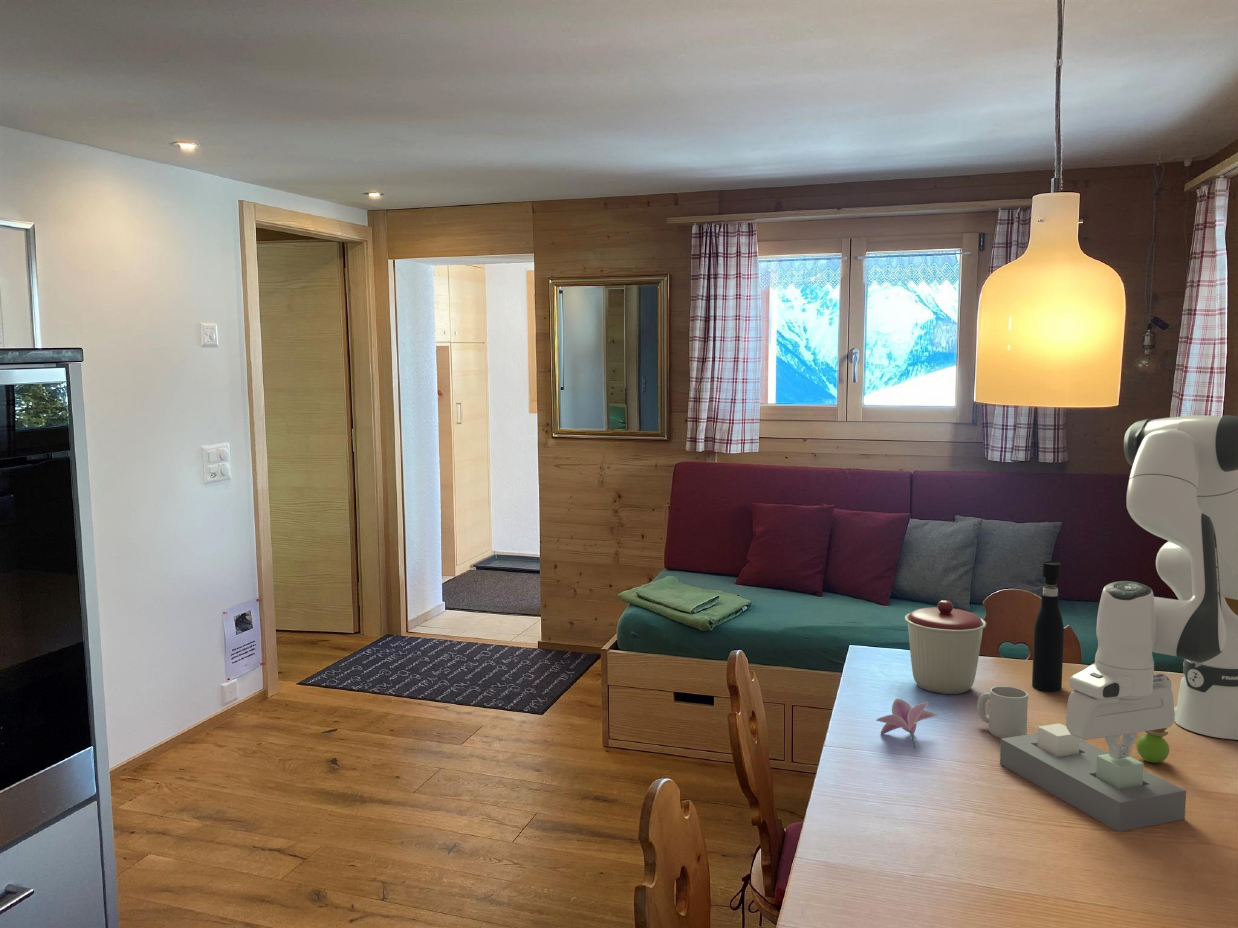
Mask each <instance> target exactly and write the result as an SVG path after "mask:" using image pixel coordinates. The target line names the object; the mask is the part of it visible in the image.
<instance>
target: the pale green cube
mask: <svg viewBox="0 0 1238 928" xmlns="http://www.w3.org/2000/svg"><path fill="white" fill-rule="evenodd" d="M1143 770H1144V762H1142V761H1140V760H1138V759H1135V758H1133V757H1132V756H1130V757H1126V758H1120V759H1114V758H1112V757H1110V756H1109V754H1104V755H1098V756H1097V764H1096V778H1098V779H1100V780H1102V781H1103V782H1105V783H1107V784H1109V785H1111V786H1113V787H1115V788H1117V789H1119V790H1122V789H1127V788H1133V787H1138V786H1143Z"/></svg>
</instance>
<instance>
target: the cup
mask: <svg viewBox="0 0 1238 928" xmlns="http://www.w3.org/2000/svg"><path fill="white" fill-rule="evenodd" d="M988 700H989V714H987V711H986V708H985V707H986V703H987V701H988ZM1028 704H1029V693H1028V692H1027V691H1026V690H1024V689H1021V688H1018V687H1016V686H1015V687H1014V686H1007V685H1001V686H1000V685H998V686H993V687H991V688H990V690H989V691H985V692H982V693H981V694H980V695H979V696H978V699H977V704H976V707H977V713H978V716H979V718H980V719H981V721H983V722H984V723H985V724H988V730H989V733H990V734H991V735H992V736H994V737H996V738H999V739H1002V738H1008V737H1015V736H1021V735H1027V729H1028V728H1027V727H1028V707H1029V706H1028Z"/></svg>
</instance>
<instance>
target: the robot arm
mask: <svg viewBox="0 0 1238 928" xmlns="http://www.w3.org/2000/svg"><path fill="white" fill-rule="evenodd" d="M1123 453H1124V457H1125V459H1126V462H1127V464H1129V465H1130V466H1131V470H1130V474H1129V477H1128V478H1129V479H1128V484H1127V490H1126V509H1127V511H1128V514H1129V516H1130V517H1131V519H1132V520H1133V521H1134V522H1135V523H1136V524H1137V525H1138V526H1140V527H1141V529H1143V530H1145V531H1147V532H1148V533H1150V534H1152V535H1154V536H1156V537H1159V538H1160V539H1163V540H1166V541H1167V542H1165V543H1164V544H1163V545H1162V546H1161V547H1160V548H1159V550H1158V552H1157V554H1156V558H1155V568H1156V572H1157V575H1158V576H1159V577H1160V579H1161V580H1162V581H1163V582H1164V583H1165V584H1166V585H1167V586H1168V587H1169V588H1170V589H1171V590H1172V592H1174V594H1175V596H1176V597H1177V599H1173V598H1166V597H1161V596H1160V597H1159V596H1154V592H1153V589H1152V588H1151V587H1149V586H1148V585H1146V584H1143V583H1140V582H1137V581H1130V580H1121V581H1113V582H1111V583H1108V584H1106V585H1105V586H1104V587H1103V589H1102V592H1101V596H1100V600H1099V605H1098V609H1097V613H1096V614H1097V615H1096V616H1097V618H1096V629H1095V630H1096V632H1095V633H1096V638H1097V642H1098V646H1097V650H1096V653H1095V655H1094V656H1095V657H1094V663H1092V664H1089V666H1087V667H1086V668H1084V669H1082V670H1081V671H1079V672H1076V673H1075V674H1073V675H1072V676H1070V677H1069V687H1070V688H1071V689H1073V690H1072V691H1071V693H1070V694H1069V695H1068V700H1067V705H1066V716H1065V717H1066V719H1065V720H1066V722H1065V726H1066V727H1067V729H1068V731H1069V732H1070V734H1072V735H1073V736H1075V737H1077V738H1080V739H1081V740H1083V741H1088V740H1097V739H1102V738H1104V740H1105V742H1106V744H1107V746H1108V753H1109V756H1110V757H1112V758H1114V759H1120V758H1126V757H1131V752H1132V751H1131V749H1132V748H1133V746H1134V744H1135V742H1136V741H1137V739H1138V733H1143V732H1145V731H1149V730H1156V729H1162V728H1167V729H1168V728H1171V727H1172V725H1173V724H1174V723H1175V724H1177V725H1178V726H1179V727H1181V728H1184V729H1185V730H1187V731H1190V732H1193V733H1197V734H1200V735H1203V736H1207V737H1212V738H1220V739H1227V740H1236V741H1238V615H1237V614H1236V613H1235V612H1234V611H1233V610H1232V609H1231V607H1230V606H1229V605H1228V602H1227V600H1226V598H1227V599H1232V600H1236V601H1238V416H1236V415H1228V414H1227V415H1226V414H1225V415H1223V416H1220V415H1219V416H1218V415H1202V414H1201V415H1199V414H1198V415H1196V414H1195V415H1194V414H1193V415H1192V414H1191V415H1187V414H1186V415H1184V416H1172V417H1163V418H1157V419H1154V418H1146V419H1142V420H1138V421H1135V422H1134V423H1133V424H1131V425H1130V426H1129V427H1128V428H1127V430H1126V431H1125V434H1124V439H1123ZM1153 653H1154V654H1155V653H1156V654H1162V655H1168V656H1172V657H1177V658H1179V659H1182V660H1183V663H1182V666H1183V669H1182V672H1183V675H1184V676H1183V677H1181V679H1180V684H1179V690H1178V697H1177V703H1176V706H1175V699H1174V694H1173V690H1172V680H1171V679H1170V678H1169V677H1168V676H1167V675H1166V674H1165V673H1156V674H1154V673H1155V661H1154V658H1153ZM1121 736H1122V737H1121ZM1118 741H1119V742H1118Z"/></svg>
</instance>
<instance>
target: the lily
mask: <svg viewBox="0 0 1238 928" xmlns="http://www.w3.org/2000/svg"><path fill="white" fill-rule="evenodd" d="M929 703H930V702H929V701H925V702H923V703H919V704H917V705H914V706H913V707H912V705H911V704H910V703H908V702H907V701H905V700H903V699H900V698H895V699H894V700H893V703H892V705H891V706H892V707H891V714H889V715H885V716H882V717H879V718H876V720H875V721H876V722H880V723H885V724H884V725H883V726H882V729H881V731H880V734H881V735H884V734H887V733H889V732H892V731H895V730H896V729H900V728H901V729H902V730H904V731H905V732H907V733H909V734H910V738H911V741H912V745H913V749H916V745H915V741H914V737H913V735H915V733H916V730H917V727H918V726H917V725H918V722H921V721H923V720H926V719H930V718H931V719H932V718H934V717H937V716H938V714H937V713H936V712H933V711H931V710H926V708H927V706H928V705H929Z"/></svg>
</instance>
